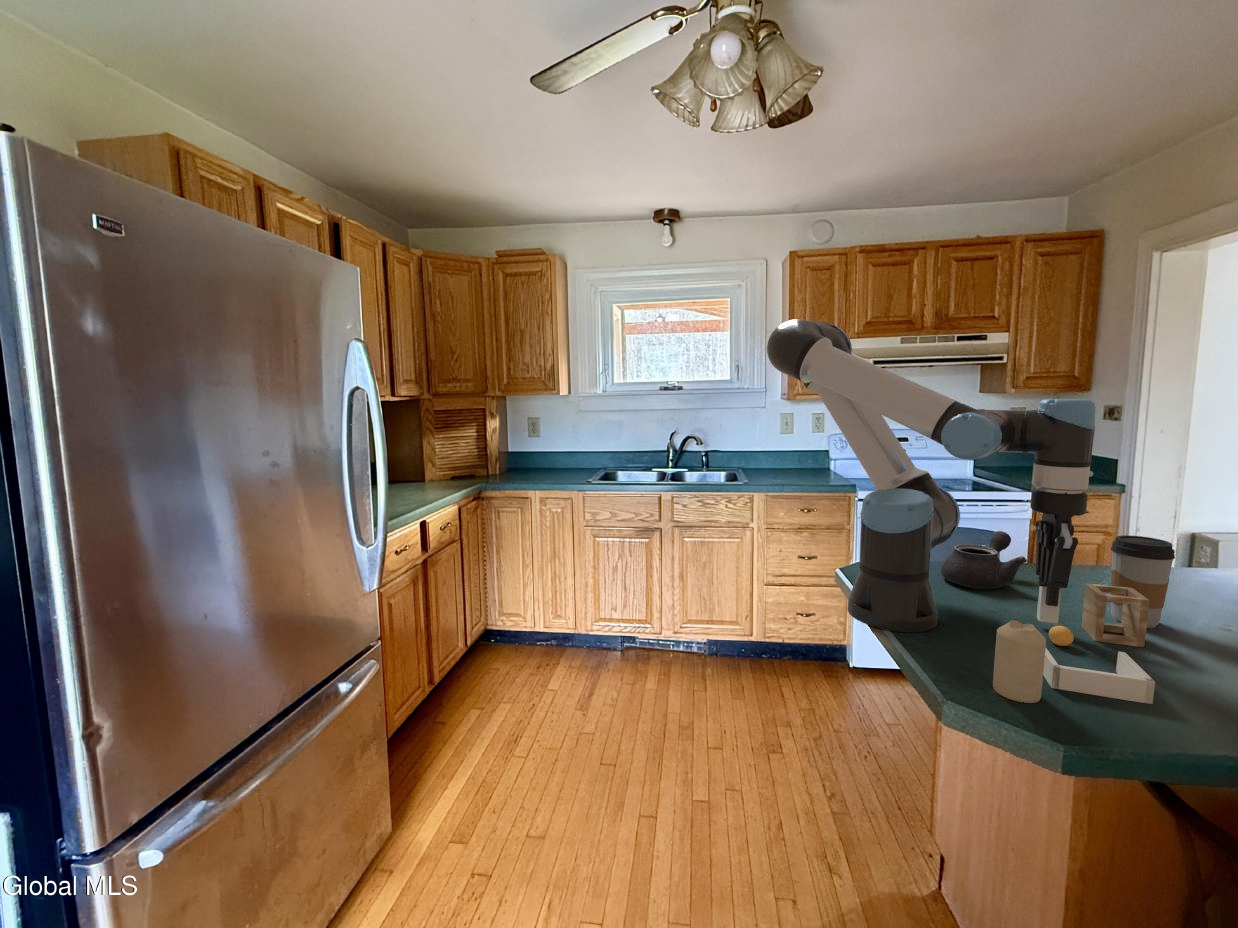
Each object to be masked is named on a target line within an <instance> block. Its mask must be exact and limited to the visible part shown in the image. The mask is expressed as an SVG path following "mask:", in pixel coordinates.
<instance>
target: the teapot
mask: <svg viewBox="0 0 1238 928" xmlns="http://www.w3.org/2000/svg"><path fill="white" fill-rule="evenodd" d="M1011 542H1012V537H1011V536H1010V534H1009V533H1007V532H1005V531H1002V530H998V531H995V532H993V534H992V535H991V537H990V538H989V546H984V545H978V544H964V543H963V544H957V545H954V546H953V550H952V551H951V553H950V554H949V555H948V556H946V558H945V560H944V561H943V563H942V564H941V569H940V572H941V573H940V574H941V575H942V577H943V578H944V579H946V580H947V581H949V582H952V583H954V584H957V585H960V586H962V587H967V588H972V589H979V590H981V589H983V590H987V589H988V590H990V589H998V588H1003V587H1005V586H1006V585H1009V584H1011V583H1013V581H1014V580H1015V577H1016V575H1017V572H1018V570H1019V569H1020V567H1021V566H1022V565H1023V564H1025V563H1027V562H1028V560H1027V559H1026V557H1024V556H1023V555H1022V556H1017V557H1015V558H1012V559H1010V560H1008V561H1001V560H1000V558H999V553H1000V552H1002V551H1003V550H1006V549H1007V548H1009V546H1010V545H1011Z"/></svg>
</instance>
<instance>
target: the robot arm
mask: <svg viewBox="0 0 1238 928" xmlns="http://www.w3.org/2000/svg"><path fill="white" fill-rule="evenodd" d="M852 351H853V346H852V342H851V339H850V337H849V335H848V334H847V333H846V332H845V331H844V330H843V329H842V328H840V327H838V326H836V325H835V324H833V323H829V322H826V321H825V322H824V321H819V322H818V321H813V320H806V319H799V318H795V319H790V320H787V321H784V322H783V323H780V324H779V325H778V326H776V327H775V328H774V330H773V331H772V332H771V334H770V336H769V337H768V339H767V345H766V353H767V358H768V360H769V362H770V364H771V365H772V366H773V367H774V368H775V369H776V370H777V371H778V372H780V373H783V374H785V375H787V376H790V377H792V378H794V379H796V380H797V381H800V382H802V384H803V386H804V387H805V389H806V390H807V392H810V393H813V394H818V396H819V397H820V399H821V401H822V402H823V404H824V405H825V407H826V409H827V410H828V412H829V413H830V416H831V418H832V419H833V421H834V423H835V424H836V425H837V427H838V429H839V430H840V431H841V433H842V435H843V437H844V438H845V440H846V441H847V443H848V444H849V445H848V446H850V448H851V449H852V451H853V453H854V454H855V456H856V459H858V461H859V463H860V465H861V466H862V468H863V470H864V471H865V472H866V475H867V476H868V477H869V479H870V481H871V482H872V484H873V485H874V488H875V490H874V491H871V492H869V493H868V494H866V496H865V497H864V498H863V500H862V505H861V510H860V514H859V515H860V537H859V538H860V541H859V566H858V567H859V569H858V574H857V576H856V579H855V581H854V584H853V585H852V588H851V591H850V593H849V596H848V599H847V612H848V614H849V615H850V617H852V618H853V619H855V620H856V621H858V622H861V623H862V624H865V625H868V626H870V627H873V628H878V629H880V630H881V629H882V630H886V631H890V632H891V631H892V632H899V633H921V632H927V631H931V630H933V629H934V628H936V627H937V625H938V615H939V614H938V613H939V611H938V608H937V604H936V601H935V597H934V595H933V591H932V587H931V584H930V580H929V579H930V562H931V550H932V549H934V548H935V547H936V546H938V545H941V544H943V543H945V542H947V541H948V540H949V539H950V538H951V537H952V536H953V535H954V533H955V532H956V530H957V528H958V527H959V524H960V520H961V511H960V507H959V504H958V503H957V500H956V499H955V497H954V496H953V495H952V494H951V493H950V492H949V491H947V490H945V489H943V488H942V487H939V486H938V485H937V483H936V481H935V480H934V479H933V477H932V476H931V474H930V473H929V471H928V470H924V469H920V468H918V467H916V466H915V464H914V462H913V461H912V460H911V458H910V456H909V455H908V453H907V451H906V450H905V448H904V447H903V445H902V444H901V443H900V440H899V439H898V437H897V436H896V435H895V433H894V431H893V430H892V428H891V427H890V425H889V424H888V422H887V421H886V418H887V419H889V420H891V421H894V422H896V423H898V424H899V425H902V426H904V427H905V428H908V429H909V430H912V431H914V432H916V433H918V434H920V435H922V436H924V437H927V438H929V439H930V440H932V441H934V442H936V443H938V444H940V445H941V446H943V448H944V449H945V451H946V452H948V454H950V455H952V457H955V458H958V459H961V460H971V461H973V460H978V459H985V458H987V457H989V456H991V455H992V454H995V453H999V452H1001V453H1022V454H1033V455H1034V460H1033V466H1032V467H1033V468H1032V478H1031V485H1032V486H1033V487H1035V488H1033V489H1031V493H1030V494H1031V495H1030V506H1029V507H1030V509H1031V510H1033V511H1034V512H1037V513H1041V519H1039V520H1036V521H1035V524H1034V525H1035V531H1036V532H1035V533H1036V538H1035V539H1036V541H1035V542H1036V545H1035V546H1036V550H1035V551H1036V552H1035V554H1036V555H1035V556H1036V557H1035V562H1036V563H1035V574H1036V576H1038V586H1039V590H1038V598H1037V600H1038V601H1037V609H1036V619H1037V620H1038V622H1042V623H1049V624H1050V623H1051V624H1059V618H1060V609H1061V608H1060V607H1061V596H1062V589H1067V588H1068V586H1069V581H1070V580H1069V579H1070V574H1071V571H1072V565H1073V561H1074V556H1075V551H1076V550H1077V549H1076V548H1077V546H1078V543H1079V539H1078V537H1073V536H1074V532H1075V526H1074V525H1073V520H1072V518H1073V517H1075V516H1077V517H1079V516H1083V515H1085V514H1086V513H1087V505H1088V497H1089V495H1088V494H1087V492H1085V491H1086V490H1087V489H1089V481H1090V477H1093V476H1094V472H1093V471H1091V465H1092V464H1091V463H1092V455H1093V447H1094V441H1095V440H1094V439H1095V431H1096V425H1095V424H1096V422H1095V421H1096V404H1095V403H1094V402H1093V401H1092V400H1090V399H1088V398H1087V399H1085V398H1045V399H1042V400H1040V401H1039V403H1038V407H1037V408H1036V409H1032V410H1015V409H1014V410H1011V409H1010V410H1009V409H984V408H983V409H982V408H979V409H976V408H974V407H972V406H970V405H967V404H965V403H962V402H960V401H957V400H956V399H953V398H951V397H949V396H947V395H944V394H942V393H940V392H937V391H935V390H933V389H931V388H928V387H926V386H924V385H921V384H919V383H917V382H915V381H912V380H910V379H907V378H906V377H904V376H901V375H898V374H896V373H894V372H892V371H890V370H887V369H885V368H883V367H881V366H878V365H876V364H874V363H872V362H869V361H867V360H864V359H863V358H860V357H858V356H855V355H853V353H852ZM884 417H886V418H884Z"/></svg>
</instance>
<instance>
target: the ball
mask: <svg viewBox="0 0 1238 928" xmlns="http://www.w3.org/2000/svg"><path fill="white" fill-rule="evenodd" d="M1048 636H1049V639H1050V641H1051V642H1052V643H1053V644H1054V645H1056V646H1060V647H1066V646H1070V645H1071V644H1072V643H1073V642H1074V637H1075V636H1074V634H1073V632H1072V630H1070V628H1068V627H1066V626H1063V625H1055V626H1052V627H1051V628H1050V629H1049V631H1048Z"/></svg>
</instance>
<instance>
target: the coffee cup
mask: <svg viewBox="0 0 1238 928" xmlns="http://www.w3.org/2000/svg"><path fill="white" fill-rule="evenodd" d="M1110 550H1111V570H1110V586H1117V587H1127V588H1133V589H1134V590H1136V591H1137V592H1139V593H1140V594H1141V595H1143V596H1144V597H1146V598H1147V599H1148V600H1150V601H1149V610H1148V619H1147V627H1146V629H1153V628H1156V627H1157V625H1159V624H1160V623H1161V622H1160V621H1161V617H1162V611H1163V608H1164V605H1165V601H1166V596H1167V593H1168V588H1169V583H1170V575H1171V571H1172V567H1173V566H1172V565H1173V561H1174V560H1175V559H1176V556H1175V553H1176V550H1175V549H1174V548H1173V543H1172V542H1170V541H1168V540H1167V541H1166V540H1163V539H1159V538H1153V537H1149V536H1140V535H1129V534H1127V535H1117V536H1115V539H1114V541H1112V542H1111V548H1110ZM1110 595H1117V596H1124V594H1117V593H1110ZM1122 610H1123V603H1114V602H1110V614H1111V616H1112V618H1113V619H1114V620H1115V621H1118V622H1119V623H1121V619H1122Z"/></svg>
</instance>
